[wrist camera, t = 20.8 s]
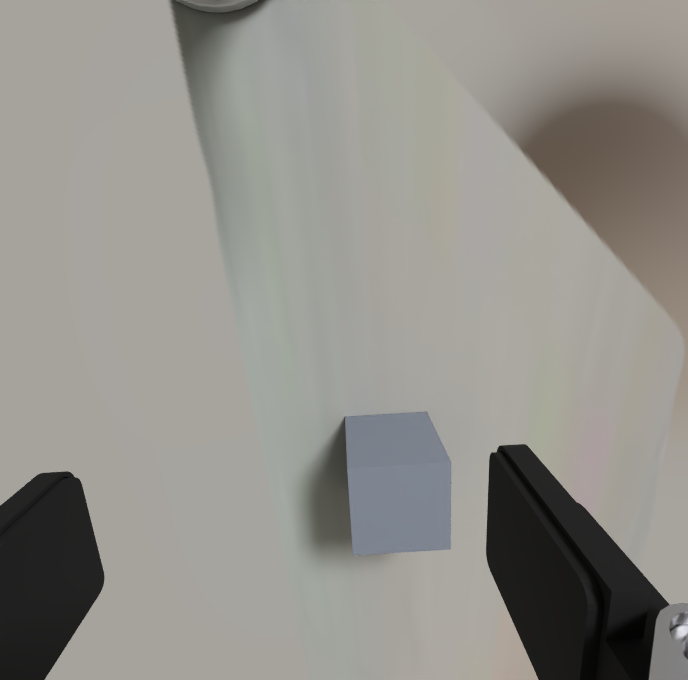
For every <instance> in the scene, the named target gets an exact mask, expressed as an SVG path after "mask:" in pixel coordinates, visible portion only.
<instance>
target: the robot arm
mask: <svg viewBox="0 0 688 680" xmlns="http://www.w3.org/2000/svg"><path fill="white" fill-rule="evenodd" d="M176 1H177V2H179V3H182V4H184V5H186V6H188V7H191V8H193V9H197V10H202V11H206V12H229V11H234V10H238V9H242V8H244V7H246V6H249V5H251V4H253V3H255V2H257V1H258V0H219V1H217V0H176ZM486 555H487V561H488V565H489V568H490V571H491V573H492V575H493V578H494V580H495V582H496V584H497V587H498V589H499V591H500V593H501V596H502V598H503V600H504V603H505V605H506V607H507V609H508V612H509V614H510V616H511V618H512V621H513V623H514V625H515V627H516V630H517V632H518V634H519V636H520V639H521V641H522V643H523V645H524V648H525V650H526V652H527V654H528V657H529V659H530V661H531V663H532V666H533V668H534V670H535V672H536V675H537V677H538V679H539V680H688V604H687V603H680V604H673V605H669V604H668V602H667V601H666V600H665V599H664V598H663V597H662V596H661V594H660V593H659V592H658V591H657V590H656V589H655V588H654V587H653V585H652V584H651V583H650V582H649V581H648V580H647V578H646V577H645V576H643V574H642V573H641V572H640V570H639V569H638V568H637V567H636V566H635V565H634V564H633V563H632V561H631V560H630V559H629V558H628V557H627V556H626V555H625V553H624V552H623V551H622V550H621V549H620V548H619V547H618V545H617V544H616V543H615V542H614V541H613V540H612V539H611V537H610V536H609V535H608V534H607V533H606V532H605V531H604V529H603V528H602V527H601V526H600V525H599V524H598V523H597V521H596V520H595V519H594V518H593V517H592V516H591V515H590V513H589V512H588V511H587V510H586V509H585V508H584V507H583V506H582V505H581V504H579V503H576V501H575V500H574V499H573V498H572V497H571V496H570V495H569V493H568V492H567V491H566V490H565V489H564V488H563V486H562V485H561V484H560V483H559V482H558V481H557V479H556V478H555V477H554V476H553V475H552V474H551V473H550V471H549V470H548V469H547V468H546V467H545V466H544V464H543V463H542V462H541V461H540V460H539V459H538V457H537V456H536V455H535V454H534V453H533V452H532V451H531V449H530V448H529V447H528V446H527V445H525V444H521V445H504V446H499V447H498V450H497V452H496V453H491V454H490V460H489V487H488V515H487V542H486ZM103 584H104V571H103V568H102V563H101V559H100V555H99V551H98V547H97V543H96V540H95V535H94V532H93V527H92V523H91V520H90V516H89V511H88V508H87V503H86V499H85V495H84V492H83V487H82V484H81V481H80V480H79V479H78V478H75V477H74V475H73V474H72V473H70V472H52V473H41V474H39V475H37V476H36V477H34V478H33V479H32V480H31V481H30V482H28V483H27V484H26V485H25V486H24V487H22V488H21V489H20V490H19V491H18V492H16V493H15V494H14V495H13V496H12V497H10V498H9V499H8V500H7V501H6V502H4V503H3V504H2V505H1V506H0V680H44V679H45V678H46V676H47V675H48V673H49V672H50V670H51V669H52V667H53V666H54V664H55V662H56V661H57V659H58V658H59V656H60V655H61V653H62V651H63V650H64V648H65V647H66V645H67V644H68V642H69V641H70V639H71V637H72V636H73V634H74V633H75V631H76V630H77V628H78V626H79V625H80V623H81V622H82V620H83V619H84V617H85V616H86V614H87V613H88V611H89V609H90V608H91V606H92V605H93V603H94V602H95V600H96V599H97V597H98V595H99V594H100V592H101V590H102V587H103Z"/></svg>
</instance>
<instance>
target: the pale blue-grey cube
mask: <svg viewBox="0 0 688 680" xmlns="http://www.w3.org/2000/svg"><path fill="white" fill-rule="evenodd" d="M345 429H346V453H347V473H348V489H349V504H350V519H351V535H352V550H353V555H367V554H383V553H399V552H415V551H431V550H447V549H451V461H450V459H449V457H448V455H447V453H446V450H445V448H444V446H443V444H442V442H441V440H440V438H439V436H438V434H437V432H436V430H435V428H434V426H433V424H432V421H431V419H430V417H429V415H428V413H427V412H416V413H399V414H383V415H367V416H351V417H345Z"/></svg>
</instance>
